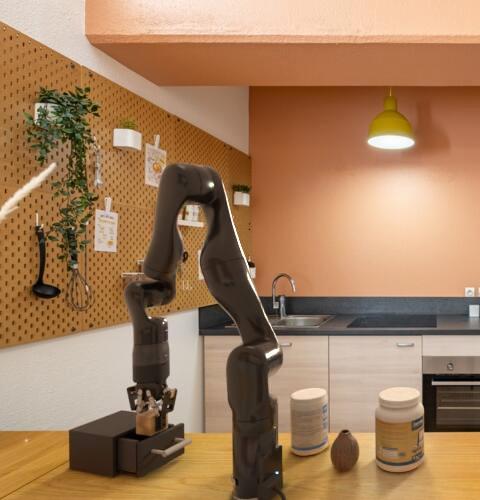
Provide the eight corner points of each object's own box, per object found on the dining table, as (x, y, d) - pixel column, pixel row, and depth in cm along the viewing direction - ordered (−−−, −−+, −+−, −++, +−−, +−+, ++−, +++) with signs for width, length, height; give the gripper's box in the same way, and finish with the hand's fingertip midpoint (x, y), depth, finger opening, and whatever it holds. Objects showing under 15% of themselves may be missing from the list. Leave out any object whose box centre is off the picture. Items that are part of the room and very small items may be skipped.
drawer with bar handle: (199, 455, 103) (199, 425, 103) (157, 480, 92) (157, 446, 92) (145, 446, 108) (144, 417, 108) (98, 469, 97) (98, 436, 97)
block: (168, 428, 101) (167, 409, 101) (150, 436, 97) (150, 417, 97) (154, 426, 103) (153, 407, 103) (136, 433, 98) (135, 415, 98)
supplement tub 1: (332, 450, 107) (332, 395, 107) (295, 461, 102) (295, 402, 102) (321, 436, 115) (321, 385, 115) (286, 445, 110) (286, 391, 110)
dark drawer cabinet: (163, 451, 107) (162, 415, 107) (113, 477, 95) (112, 437, 95) (122, 444, 111) (121, 410, 111) (69, 469, 99) (68, 429, 99)
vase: (364, 461, 101) (364, 426, 101) (351, 476, 94) (350, 439, 94) (339, 458, 103) (339, 423, 103) (324, 472, 96) (324, 435, 96)
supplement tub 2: (423, 474, 95) (423, 402, 95) (371, 475, 95) (371, 403, 95) (425, 448, 107) (424, 385, 107) (379, 449, 107) (378, 385, 107)
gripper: (114, 362, 98) (115, 432, 98) (159, 366, 94) (160, 439, 94) (144, 354, 105) (145, 419, 105) (187, 357, 102) (188, 425, 102)
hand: (152, 428), depth 100 cm, fingers closed on block, 4 cm apart
